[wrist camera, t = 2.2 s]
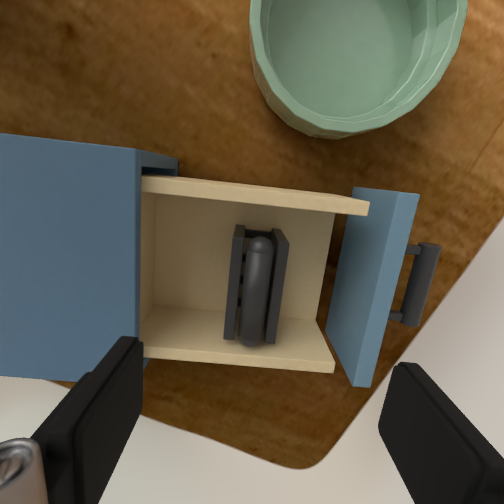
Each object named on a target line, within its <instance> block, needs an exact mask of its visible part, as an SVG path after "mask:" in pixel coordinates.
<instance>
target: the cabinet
mask: <svg viewBox="0 0 504 504" xmlns="http://www.w3.org/2000/svg"><path fill="white" fill-rule="evenodd" d="M141 173H149V174H159V175H168V176H177V177H178V159H177V158H173V157H169V156H165V155H160V154H156V153H152V152H148V151H143V150H139V149H135V148H126V147H117V146H109V145H100V144H91V143H83V142H74V141H66V140H57V139H48V138H40V137H31V136H22V135H14V134H5V133H0V376H8V377H9V376H10V377H22V378H33V379H46V380H58V381H70V382H78V381H79V379H80V378H81V377H82V376H83V375H84V374H85V373H87V372H92V371H93V369H94V368H95V367H96V366H97V365H98V363H99V362H100V361H101V360H102V358H103V357H104V356H105V355H106V354H107V352H108V351H109V350H110V349H111V347H112V346H113V345H114V344H115V343H116V341H117V340H118V339H119V338H120V337H121V336H132V337H138V338H139V341H140V272H141ZM149 360H150V358H148V357H143V371H144V369H145V367H146V365H147V364H148V362H149Z"/></svg>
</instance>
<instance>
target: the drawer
mask: <svg viewBox="0 0 504 504" xmlns="http://www.w3.org/2000/svg"><path fill="white" fill-rule="evenodd" d="M419 197H420V194H414V193H406V192H397V191H388V190H378V189H369V188H360V187H353V191H352V196H351V198H350V197H345V196H341V195H336V194H328V193H319V192H310V191H301V190H292V189H283V188H275V187H266V186H257V185H248V184H239V183H230V182H221V181H212V180H203V179H195V178H186V177H177V176H168V175H159V174H149V173H141V272H140V341H141V342H143V344H144V355H143V357H148V358H160V359H171V360H183V361H195V362H206V363H218V364H230V365H242V366H253V367H265V368H277V369H289V370H300V371H312V372H324V373H333V372H334V367H335V361H334V359H333V357H332V355H331V352H330V350H329V348H328V346H327V344H326V342H325V340H324V337H323V335H322V333H321V331H320V329H319V327H318V325H317V322H316V321H315V320H316V315H317V309H318V304H319V299H320V293H321V288H322V283H323V277H324V272H325V267H326V261H327V256H328V250H329V245H330V240H331V234H332V229H333V224H334V218H335V213H341V214H348V216H347V221H346V226H345V232H344V237H343V242H342V247H341V252H340V257H339V262H338V267H337V272H336V277H335V282H334V287H333V292H332V297H331V302H330V307H329V312H328V317H327V323H326V328H325V332H326V334H327V336H328V338H329V340H330V342H331V344H332V346H333V348H334V350H335V352H336V354H337V356H338V358H339V360H340V362H341V364H342V366H343V368H344V370H345V372H346V374H347V376H348V378H349V380H350V382H351V385H352V386H355V387H367V388H370V386H371V382H372V378H373V374H374V370H375V366H376V363H377V359H378V355H379V351H380V347H381V343H382V339H383V336H384V332H385V328H386V324H387V320H397V321H399V322H401V323H402V324H404V325H407V326H410V327H418V326H419V323H420V320H421V317H422V313H423V310H424V306H425V303H426V300H427V296H428V293H429V289H430V286H431V282H432V279H433V276H434V272H435V269H436V265H437V262H438V259H439V255H440V252H441V248H442V247H441V246H440V245H437V244H433V243H428V242H419V243H418V245H412V244H407V243H408V239H409V235H410V231H411V228H412V224H413V220H414V216H415V212H416V208H417V204H418V201H419ZM236 224H239V225H245V229H253V230H262V231H271V232H272V228H276V229H281V230H282V232H283V233H284V235H285V237H286V238H287V240H288V242H289V243H290V246H289V253H288V259H287V266H286V273H285V280H284V286H283V293H282V300H281V307H280V313H279V320H278V327H277V333H276V340H275V344H271V343H265V342H264V332H263V335H262V339H261V341H260V342H259V344H257V345H256V346H253V347H247V346H244V345H243V344H242V343H241V342H240V341H239V339H238V325H239V316H240V307H237V314H236V324H235V333H234V340H225V339H223V334H224V323H225V313H226V302H227V291H228V281H229V270H230V259H231V249H232V238H233V234H234V230H235V226H236ZM252 239H253V238H244V248H243V253H246V252H247V246H248V244H249V242H250V241H251V240H252ZM405 254H413V255H415V257H414V261H413V264H412V268H411V272H410V276H409V279H408V283H407V287H406V290H405V294H404V298H403V302H402V305H401V309H400V311H399V310H390V309H391V305H392V301H393V297H394V293H395V289H396V285H397V282H398V278H399V274H400V270H401V266H402V262H403V258H404V255H405ZM244 270H245V262H242V267H241V275H244ZM242 289H243V284H240V286H239V295H238V297H239V298H242Z"/></svg>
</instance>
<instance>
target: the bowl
mask: <svg viewBox="0 0 504 504" xmlns="http://www.w3.org/2000/svg"><path fill="white" fill-rule="evenodd" d="M466 15H467V0H251V5H250V16H249V51H250V57H251V62H252V68H253V73H254V78H255V81H256V83H257V85H258V87H259V89H260V91H261V93H262V94H263V96H264V98H265V100H266V102H267V104H269V107H270V108H271V109H272V110H273V111H274V112H275V113H276V114H277V115H278V116H279V117H280V118H281V119H282V120H283V121H284V122H285V123H286V124H288V126H290V127H292V128H294V129H296V130H298V131H300V132H302V133H304V134H306V135H308V136H311V137H318V138H326V139H334V140H336V139H342V138H347V137H351V136H356V135H361V134H364V133H366V132H369V131H372V130H375V129H378V128H380V127H383V126H386V125H387V124H389V123H391V122H392V121H394V120H396V119H398V118H399V117H401V116H403V115H405V114H406V113H408V112H410V111H411V110H413V109H414V108H415V107H416V106H417V105H418V104H419V103H420V102H421V101H422V100H423V99H424V98H425V97H426V96H427V95H428V94H429V93H430V92H431V90H432V89H433V88H434V87H435V86H436V85H437V84H438V83H439V81H440V80H441V78H442V76H443V74H444V72H445V70H446V69H447V67H448V65H449V63H450V61H451V60H452V58H453V56H454V54H455V52H456V51H457V49H458V45H459V42H460V38H461V34H462V30H463V26H464V22H465V18H466Z"/></svg>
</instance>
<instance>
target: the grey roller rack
mask: <svg viewBox="0 0 504 504" xmlns="http://www.w3.org/2000/svg"><path fill="white" fill-rule="evenodd" d="M244 238H253V239H252V240H251V241H250V242H249V244H248V246H247V252H246V253H243V248H244ZM289 246H290V243H289V242H288V240H287V238H286V237H285V235H284V233H283V232H282V230H281V229H276V228H272V232H271V231H262V230H253V229H245V225H239V224H236V226H235V230H234V234H233V238H232V249H231V259H230V270H229V281H228V291H227V302H226V313H225V323H224V334H223V339H225V340H234V333H235V324H236V314H237V307H240V316H239V325H238V339H239V341H240V342H241V343H242V344H243V345H244V346H247V347H253V346H256V345H257V344H259V342H260V341H261V339H262V335H263V332H264V342H265V343H271V344H275V340H276V333H277V327H278V320H279V313H280V307H281V300H282V293H283V286H284V280H285V273H286V266H287V259H288V253H289ZM242 262H245V270H244V275H241V267H242ZM240 284H243V289H242V298H239V297H238V295H239V286H240Z"/></svg>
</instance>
